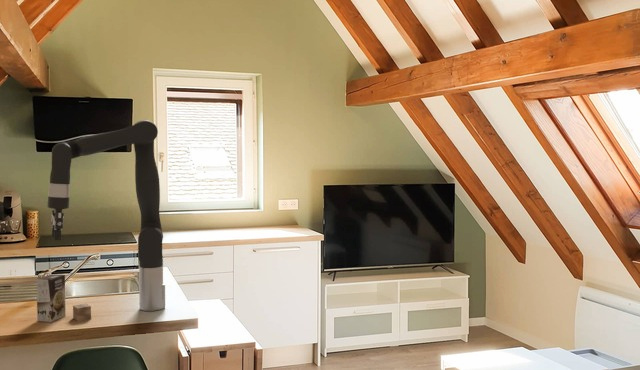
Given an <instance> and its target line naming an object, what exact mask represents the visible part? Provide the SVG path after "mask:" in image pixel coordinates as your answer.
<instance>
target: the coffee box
mask: <svg viewBox="0 0 640 370" xmlns="http://www.w3.org/2000/svg"><path fill="white" fill-rule="evenodd" d="M36 313H37V314H36V316H37V317H36V319H37V320H36V321H37V322H46V323H53V322H55V321H57V320H59V319H61V318H64V317H65V316H66V274H58V273H57V274H56V273H55V274H53V273H52V274H48V275H44V276H41V277H39V278H36Z"/></svg>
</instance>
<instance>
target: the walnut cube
mask: <svg viewBox="0 0 640 370" xmlns="http://www.w3.org/2000/svg"><path fill="white" fill-rule="evenodd" d="M72 319H74V320H75V321H77V322H81V321H89V320H92V306H91V305H89V304H88V303H82V304H75V305H72Z"/></svg>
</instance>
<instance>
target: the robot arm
mask: <svg viewBox="0 0 640 370" xmlns="http://www.w3.org/2000/svg"><path fill="white" fill-rule="evenodd" d="M158 133H159V131H158V127H157V125H156V124H155V123H154V122H152V121H151V120H147V119H144V120H143V119H142V120H138V121H136V122H135V123H134V124H133V125H130V126H127V127H125V128H122V129H119V130H118V129H117V130H113V131H112V130H111V131H108V132H100V133H96V134H92V135H88V136H83V137H81V138H78V139H74V140H68V141H64V142H59V143H56V144H55V145H54V146H53V147H52V149H51V170H50V176H49V185H48V192H47V208H48V209H52V213H51V220H50V221H51V238H53V239H54V241H60V240H61V239H62V231H63V229H64V226H63V225H64V218H65V214H64V212H63V210H68V209H69V208H70V198H71V196H70V195H71V167H72V166H71V165H72V160H73V159H76V158H80V157H86V156H91V155H95V154H99V153H103V152H106V151H108V150H112V149H113V150H114V149H116V148H119V147H123V146H129V145H133V147H134V148H133V149H134V154H135V156H134V157H135V160H134V163H135V164H134V165H135V166H134V169H135V171H134V176H135V177H134V178H135V179H134V181H135V193H136V199H137V204H138V207H139V211H140V232H139V234H138V238H137V251H138V252H137V253H138V255H137V256H138V259H137V260H138V266H139V267H138V268H139V270H138V271H139V273H138V275H139V276H138V277H139V278H138V279H139V280H138V281H139V283H138V285H139V286H138V287H139V290H138V291H139V310H141V311H144V312H145V311H146V312H152V311H153V312H154V311H160V310H162V309H165V308H166V285H165V284H164V271H163V270H164V259H163V258H164V257H163V240H164V239H163V238H164V234H163V230H162V229H163V227H162V224H161V217H160V215H161V214H160V204H161V203H160V202H161V187H160V175H159V171H158V166H157V162H156V160H155V159H156V158H155V149H154V148H155V147H154V146H155V143H154V142H155V140H156V139H157V137H158Z"/></svg>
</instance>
